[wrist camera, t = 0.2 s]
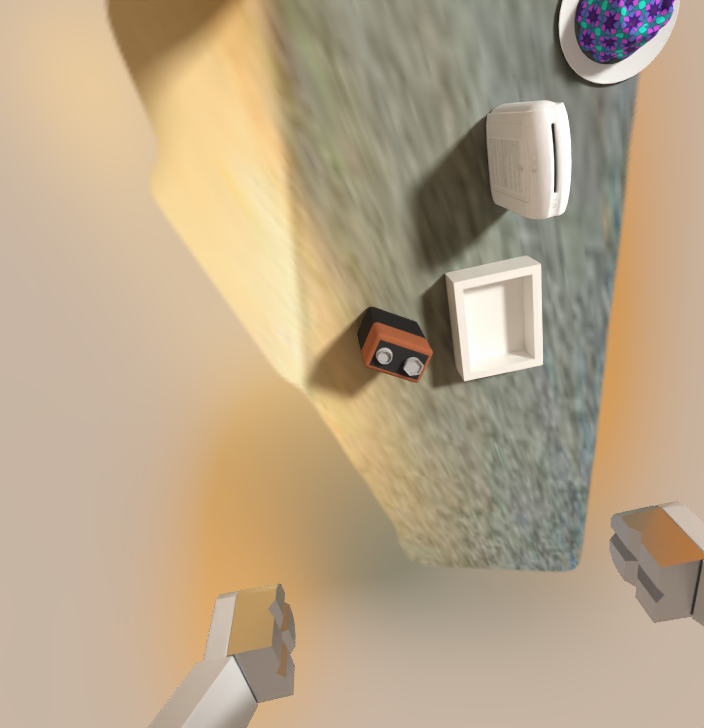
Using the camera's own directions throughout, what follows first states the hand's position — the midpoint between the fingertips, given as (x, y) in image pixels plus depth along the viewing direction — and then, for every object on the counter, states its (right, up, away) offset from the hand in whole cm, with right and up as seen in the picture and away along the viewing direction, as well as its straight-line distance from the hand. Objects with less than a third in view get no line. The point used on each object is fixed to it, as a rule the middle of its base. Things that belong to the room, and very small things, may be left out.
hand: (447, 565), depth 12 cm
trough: (+15, +11, +49) cm, 52 cm away
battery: (+2, +10, +49) cm, 50 cm away
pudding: (+24, +40, +36) cm, 59 cm away
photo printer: (+14, +28, +41) cm, 51 cm away
